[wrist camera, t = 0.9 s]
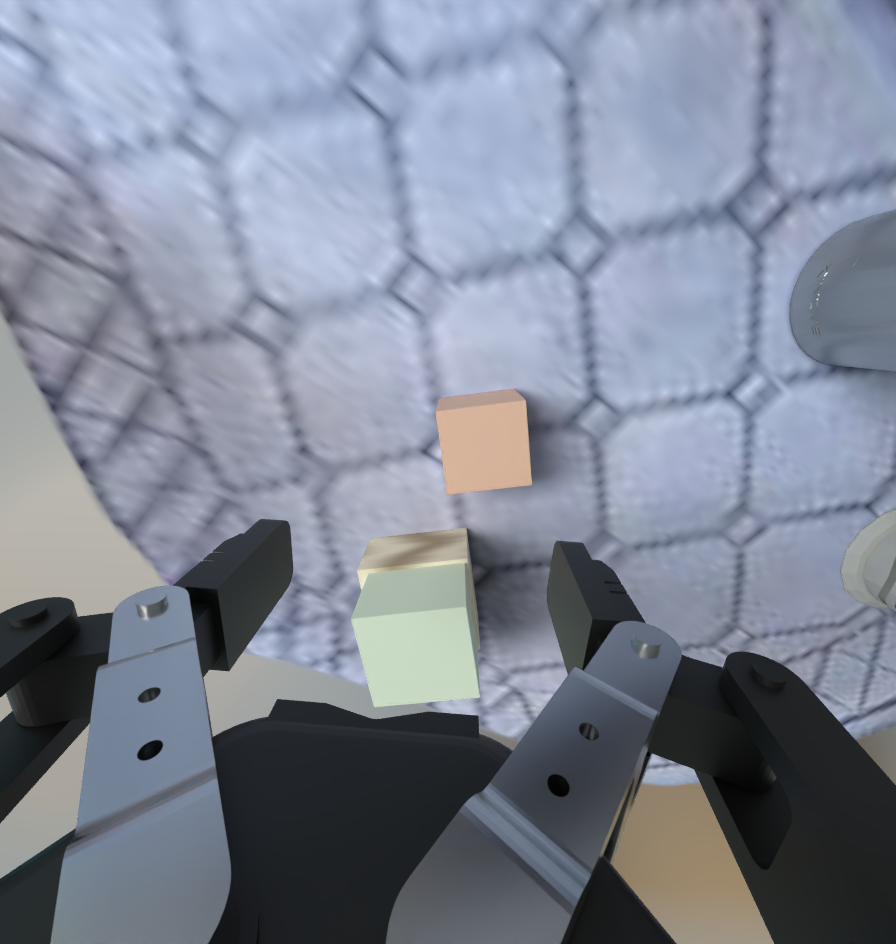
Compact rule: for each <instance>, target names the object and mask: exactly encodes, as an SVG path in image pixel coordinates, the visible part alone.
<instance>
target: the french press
mask: <svg viewBox="0 0 896 944" xmlns="http://www.w3.org/2000/svg"><path fill="white" fill-rule="evenodd" d="M840 572H841V576H842V580H843V584H844V588H845V590H846V591H847V592H848V593H849V594H850V595H851V596H852V597H853V598H854V599H855V600H856V601H857V602H859V603H862V604H865V605H868V606H872V607H875V608H891V609H893V610H894V611H896V509H895V510H893V511H890V512H888V513H885V514H882V515H881V516H880V517H878V518H877V519H876V520H874V521H873V522H872V523H870V524H869V525H868V526H866V527H865V528H864V529H862V530H861V531H860V532H859V534H858V535H857V536H856V538H855V539H854V541H853V542H852V543H851V545H850V546H849V547H848V549H847V550H846V552H845V556H844V560H843V564H842V568H841V571H840Z"/></svg>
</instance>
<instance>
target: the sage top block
mask: <svg viewBox="0 0 896 944" xmlns="http://www.w3.org/2000/svg"><path fill="white" fill-rule="evenodd" d="M351 620H352V624H353V628H354V632H355V636H356V639H357V643H358V647H359V651H360V655H361V659H362V662H363V666H364V670H365V674H366V678H367V682H368V685H369V689H370V693H371V697H372V701H373V704H374V707H380V706H392V705H402V704H413V703H424V702H435V701H446V700H457V699H468V698H479V697H480V688H479V672H478V655H477V641H476V634H475V627H474V621H473V614H472V607H471V601H470V594H469V587H468V581H467V574H466V567H465V562H464V563H455V564H446V565H437V566H429V567H420V568H411V569H402V570H393V571H384V572H376V573H368V575H367V578H366V581H365V583H364V586H363V589H362V591H361V594H360V597H359V599H358V602H357V605H356V607H355V610H354V613H353V615H352V618H351Z"/></svg>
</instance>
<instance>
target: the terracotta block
mask: <svg viewBox="0 0 896 944" xmlns="http://www.w3.org/2000/svg"><path fill="white" fill-rule="evenodd" d="M436 418H437V425H438V432H439V439H440V446H441V453H442V460H443V468H444V475H445V482H446V489H447V495H448V494H457V493H466V492H475V491H484V490H492V489H501V488H510V487H519V486H528V485H532V480H531V466H530V451H529V437H528V423H527V409H526V400H525V399H524V398H523V397H522V396H521V395H520V394H519V393H518V392H517V391H516V390H515V389H508V390H500V391H492V392H484V393H476V394H469V395H461V396H453V397H445V398H439V401H438V405H437V408H436Z"/></svg>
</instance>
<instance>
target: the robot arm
mask: <svg viewBox="0 0 896 944" xmlns="http://www.w3.org/2000/svg"><path fill="white" fill-rule="evenodd" d="M790 321H791V325H792V330H793V334H794V336H795V338H796V340H797V342H798V344H799V346H800V347H801V348H802V349H803V350H804V351H805V352H806V353H807V354H808V355H809V356H811V357H812V358H814V359H815V360H817V361H819V362H822V363H825V364H828V365H834V366H845V367H856V368H867V369H878V370H888V371H896V210H892V211H889V212H885V213H882V214H878V215H874V216H871V217H868V218H865V219H862V220H859V221H856V222H854V223H852V224H850V225H848V226H846V227H845V228H843V229H841V230H839V231H838V232H836V233H835V234H834V235H833V236H831V237H830V238H829V239H828V240H827V241H825V242H824V243H823V244H822V245H821V246H820V247H819V248H818V250H817V251H816V252H815V253H814V254H813V255H812V256H811V258H810V259H809V261H808V262H807V264H806V265H805V267H804V269H803V270H802V272H801V274H800V276H799V278H798V281H797V283H796V285H795V288H794V291H793V296H792V300H791V308H790ZM292 574H293V559H292V545H291V532H290V525H289V523H288V522H287V521H283V520H270V519H260V520H259V521H257V522H256V523H255V524H254V525H253V526H252V527H251V528H250V529H249V530H248V531H246V532H245V533H244V534H239V535H237V536H235V537H233V538H230V539H228V540H226V541H224V542H223V543H222V544H221V545H219V546H218V547H217V548H216V549H215V550H214V551H213V553H210V554H209V555H208V556H207V557H206V558H204V559H203V562H200V563H199V564H197V565H196V566H195V567H194V568H193V569H192V570H190V571H189V572H188V573H187V574H186V575H185V576H183V577H182V578H181V579H180V580H179V581H178V582H177V583H175V584H174V585H173V586H160V587H154V588H150V589H146V590H144V591H140V592H138V593H136V594H134V595H132V596H130V597H128V598H127V599H125V600H124V601H122V602H121V603H120V604H119V605H118V606H117V607H116V608H115V610H114V612H113V613H105V614H97V615H89V616H80V617H78V616H77V613H76V609H75V606H74V603H73V601H72V600H70V599H67V598H61V597H52V598H44V599H38V600H34V601H30V602H27V603H24V604H21V605H18V606H16V607H13V608H11V609H9V610H7V611H4V612H3V613H1V614H0V697H2V696H3V695H4V694H5V693H6V695H7V697H8V700H9V702H10V705H11V708H12V710H13V711H12V712H11V713H10V714H9V715H8V716H6V717H5V718H4V719H3V720H2V721H1V722H0V823H1V822H2V821H3V820H4V819H5V817H6V816H7V815H8V814H9V813H10V812H11V811H12V809H13V808H14V807H15V806H16V805H17V804H18V803H19V801H21V800H22V798H23V797H24V796H25V795H26V794H27V793H28V792H29V791H30V789H31V788H32V787H33V786H34V785H35V784H36V783H37V781H39V779H40V778H41V777H42V776H43V775H44V774H45V773H46V772H47V770H48V769H49V768H50V767H51V766H52V765H53V764H54V763H55V761H56V760H57V759H58V758H59V757H60V756H61V755H62V754H63V753H64V751H65V750H66V749H67V748H68V747H69V746H70V745H71V744H72V742H73V741H74V740H75V739H76V738H77V737H78V735H80V734H81V732H82V731H83V730H84V729H85V728H86V727H87V726H88V724H89V723H90V727H89V734H88V742H87V749H86V757H85V765H84V772H83V780H82V788H81V796H80V803H79V811H78V818H77V825H76V828H75V829H74V830H73V831H71V832H69V833H68V834H66V835H65V836H63V837H62V838H60V839H59V840H58V841H56V842H55V843H53V844H52V845H50V846H49V847H47V848H46V849H44V850H43V851H41V852H40V853H38V854H37V855H35V856H34V857H32V858H31V859H29V860H28V861H26V862H25V863H23V864H22V865H20V866H19V867H17V868H16V869H14V870H13V871H11V872H10V873H9V874H7V875H5V876H4V877H2V878H1V879H0V944H676V943H675V941H674V940H673V939H672V938H671V936H670V935H669V934H668V933H667V932H666V931H665V929H664V928H663V927H662V926H661V924H660V923H659V922H658V921H657V919H656V918H655V917H654V916H653V915H652V913H651V912H650V911H649V910H648V909H647V907H646V906H645V905H644V904H643V902H642V901H641V900H640V899H639V898H638V896H637V895H636V894H635V893H634V891H633V890H632V889H631V888H630V887H629V885H628V884H627V883H626V882H625V881H624V879H623V878H622V877H621V876H620V874H619V873H618V872H617V871H616V870H615V868H614V867H613V866H612V864H613V861H614V858H615V855H616V852H617V849H618V846H619V843H620V840H621V837H622V834H623V831H624V829H625V826H626V823H627V820H628V817H629V815H630V812H631V810H632V807H633V804H634V802H635V799H636V796H637V793H638V790H639V788H640V786H641V783H642V780H643V778H644V775H645V772H646V770H647V767H648V764H649V762H650V759H651V756H652V754H655V755H658V756H660V757H663V758H666V759H668V760H671V761H674V762H676V763H679V764H682V765H684V766H687V767H690V768H692V769H694V770H695V772H696V774H697V777H698V779H699V781H700V783H701V785H702V788H703V790H704V792H705V794H706V796H707V798H708V801H709V803H710V805H711V807H712V809H713V811H714V814H715V816H716V818H717V820H718V822H719V824H720V827H721V829H722V831H723V833H724V835H725V838H726V840H727V842H728V844H729V846H730V848H731V850H732V853H733V855H734V857H735V859H736V861H737V864H738V866H739V868H740V870H741V872H742V875H743V877H744V879H745V881H746V883H747V885H748V887H749V890H750V892H751V894H752V896H753V898H754V901H755V903H756V905H757V907H758V909H759V911H760V914H761V916H762V918H763V920H764V922H765V925H766V927H767V929H768V931H769V933H770V935H771V938H772V940H773V942H774V944H896V785H895V784H894V783H893V782H892V781H891V780H890V779H889V777H887V775H886V774H885V773H884V772H883V771H882V770H881V768H880V767H879V766H878V765H877V764H876V763H875V762H874V761H873V759H872V758H871V757H870V756H869V755H868V754H867V753H866V751H865V750H864V749H863V748H862V747H861V746H860V745H859V744H858V742H857V741H856V740H855V739H854V738H853V737H852V736H851V735H850V733H849V732H848V731H847V730H846V729H845V728H844V727H843V726H842V724H841V723H840V722H839V721H838V720H837V719H836V718H835V717H834V715H833V714H832V713H831V712H830V711H829V710H828V709H827V708H826V706H825V705H824V704H823V703H822V702H821V701H820V700H819V699H818V697H817V696H816V695H815V694H814V693H813V692H812V691H811V690H810V688H809V687H808V686H807V685H806V684H805V683H804V682H803V681H802V680H801V679H800V678H799V677H798V676H797V675H796V674H795V673H793V672H792V671H791V670H789V669H788V668H786V667H785V666H783V665H781V664H780V663H778V662H776V661H774V660H771V659H769V658H767V657H764V656H761V655H758V654H754V653H750V652H734V653H731V654H729V655H728V656H727V658H726V661H725V663H724V666H723V668H722V667H719V666H716V665H712V664H709V663H705V662H702V661H699V660H695V659H692V658H689V657H686V656H684V655H682V652H681V649H680V647H679V645H678V644H677V643H676V641H675V640H674V639H673V638H672V637H671V636H669V635H668V634H667V633H665V632H664V631H662V630H660V629H659V628H657V627H655V626H652V625H649V624H646V623H645V621H644V619H643V618H642V616H641V615H640V613H639V611H638V610H637V608H636V606H635V605H634V603H633V601H632V600H631V598H630V597H629V595H628V594H627V592H626V590H625V588H624V587H623V585H621V582H620V580H619V579H618V577H617V575H616V574H615V572H614V571H613V570H612V569H611V568H609V567H608V566H607V565H606V564H604V563H603V562H602V561H599V560H592V559H591V557H590V555H589V553H588V551H587V549H586V548H585V546H584V544H583V543H579V542H566V541H556V543H555V545H554V549H553V555H552V562H551V568H550V574H549V580H548V587H547V603H548V608H549V612H550V615H551V619H552V622H553V626H554V629H555V632H556V636H557V639H558V643H559V646H560V649H561V653H562V656H563V660H564V663H565V666H566V670H567V673H568V676H567V678H566V679H565V680H564V682H563V683H562V684H561V686H560V687H559V688H558V690H557V691H556V693H555V694H554V695H553V697H552V698H551V699H550V701H549V702H548V704H547V705H546V706H545V708H544V709H543V710H542V712H541V713H540V715H539V716H538V717H537V719H536V720H535V721H534V723H533V724H532V726H531V727H530V728H529V730H528V731H527V732H526V734H525V735H524V737H523V738H522V739H521V741H520V742H519V743H518V745H517V746H516V748H515V749H514V750H513V751H512V750H510V749H509V748H508V747H506V746H504V745H503V744H501V743H500V742H498V741H495V740H493V739H491V738H489V737H487V736H484V735H481V734H479V720H478V716H475V715H462V714H450V713H438V712H423V713H417V714H410V715H403V716H397V717H390V718H383V719H371V718H368V717H365V716H362V715H359V714H356V713H353V712H350V711H347V710H344V709H341V708H339V707H336V706H333V705H330V704H327V703H317V702H305V701H293V700H281V699H277V701H276V703H275V705H274V707H273V709H272V711H271V713H270V714H269V716H268V717H264V718H260V719H255V720H251V721H248V722H245V723H242V724H239V725H236V726H234V727H232V728H230V729H228V730H225V731H223V732H221V733H219V734H218V735H216V736H214V737H213V734H212V728H211V721H210V715H209V709H208V703H207V697H206V691H205V685H204V679H203V677H204V676H205V674H206V673H207V672H208V671H209V670H221V671H230V669H231V668H232V666H233V665H234V664H235V662H236V661H237V659H238V658H239V656H240V655H241V654H242V652H243V651H244V649H245V648H246V647H247V645H248V644H249V642H250V641H251V639H252V638H253V637H254V635H255V634H256V632H257V631H258V629H259V628H260V627H261V625H262V624H263V622H264V621H265V620H266V618H267V617H268V615H269V614H270V612H271V611H272V610H273V608H274V607H275V605H276V604H277V602H278V601H279V600H280V598H281V597H282V595H283V594H284V592H285V591H286V590H287V588H288V587H289V584H290V582H291V579H292Z"/></svg>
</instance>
